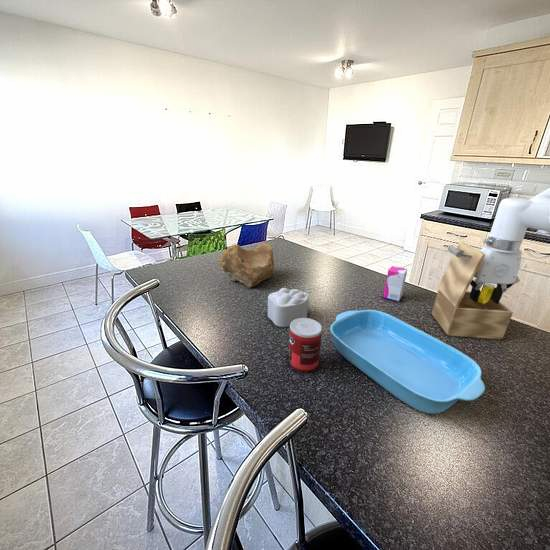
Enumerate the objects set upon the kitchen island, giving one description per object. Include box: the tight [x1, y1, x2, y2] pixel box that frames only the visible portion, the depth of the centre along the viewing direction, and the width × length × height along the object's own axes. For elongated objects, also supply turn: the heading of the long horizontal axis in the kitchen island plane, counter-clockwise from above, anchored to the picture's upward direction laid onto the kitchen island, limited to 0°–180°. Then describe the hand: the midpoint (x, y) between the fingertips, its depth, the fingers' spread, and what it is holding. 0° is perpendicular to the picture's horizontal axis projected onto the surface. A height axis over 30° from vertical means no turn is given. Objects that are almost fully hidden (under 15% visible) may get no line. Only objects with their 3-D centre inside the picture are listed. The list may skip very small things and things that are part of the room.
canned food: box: [287, 317, 323, 372], centre depth 73 cm, size 8×8×11 cm
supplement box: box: [382, 265, 408, 303], centre depth 108 cm, size 6×6×12 cm
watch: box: [478, 283, 495, 304], centre depth 88 cm, size 6×3×6 cm, turn 125°
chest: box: [431, 289, 514, 340], centre depth 91 cm, size 16×13×9 cm
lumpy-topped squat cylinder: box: [267, 287, 310, 328], centre depth 94 cm, size 10×13×9 cm
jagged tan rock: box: [219, 242, 275, 289], centre depth 117 cm, size 23×17×15 cm
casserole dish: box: [329, 309, 486, 415], centre depth 73 cm, size 37×22×7 cm, turn 35°
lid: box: [437, 240, 485, 307], centre depth 86 cm, size 16×13×5 cm
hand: (483, 300), depth 89 cm, fingers closed on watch, 5 cm apart
